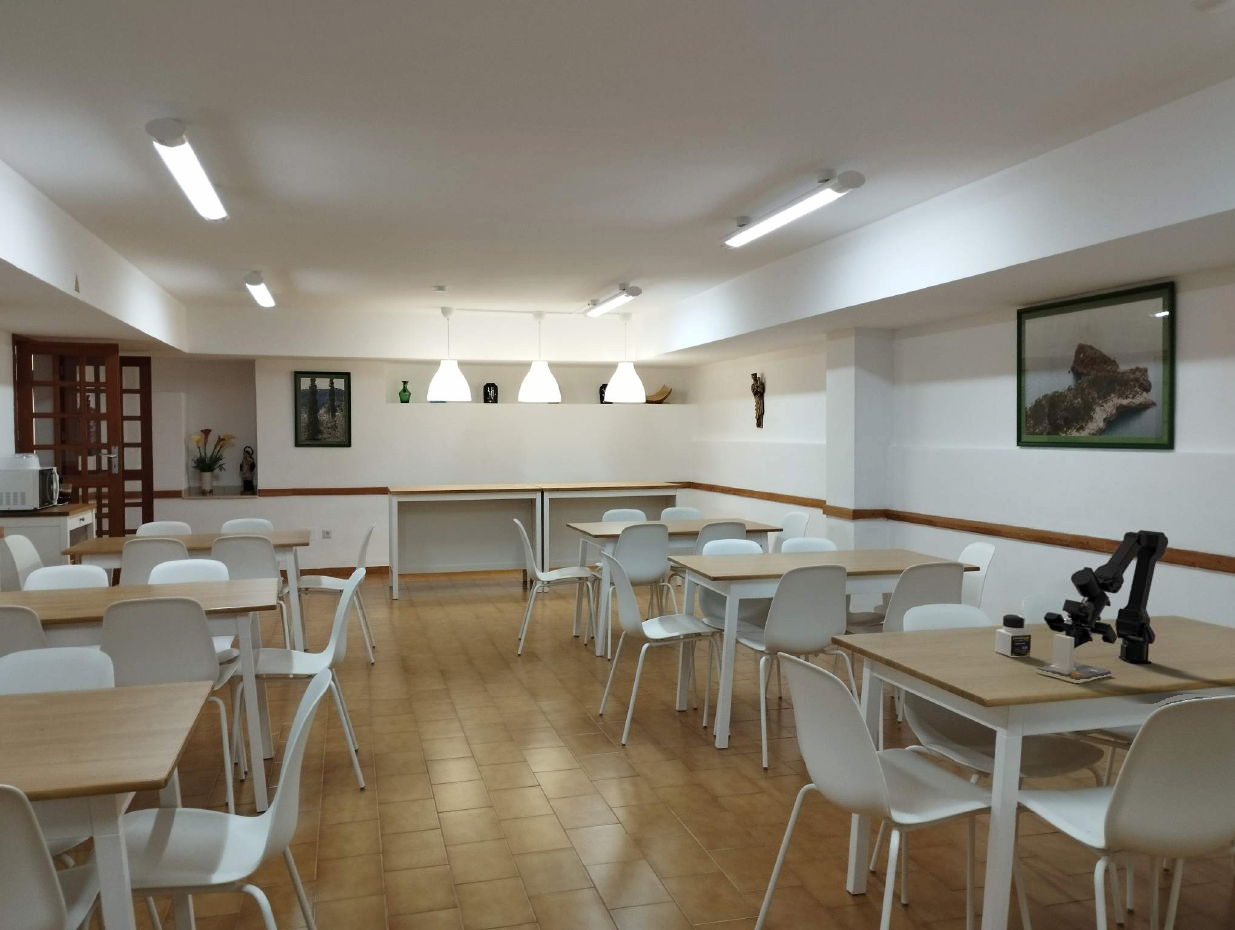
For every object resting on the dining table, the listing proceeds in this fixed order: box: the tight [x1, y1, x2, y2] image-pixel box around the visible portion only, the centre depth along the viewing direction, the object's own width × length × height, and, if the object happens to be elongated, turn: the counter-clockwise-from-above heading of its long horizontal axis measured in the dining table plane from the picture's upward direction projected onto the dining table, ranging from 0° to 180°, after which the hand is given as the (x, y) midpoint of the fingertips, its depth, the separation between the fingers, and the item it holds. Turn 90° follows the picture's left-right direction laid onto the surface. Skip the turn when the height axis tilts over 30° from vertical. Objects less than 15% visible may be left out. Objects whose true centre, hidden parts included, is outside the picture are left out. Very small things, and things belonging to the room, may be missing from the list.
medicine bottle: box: [994, 613, 1032, 657], centre depth 271 cm, size 7×7×12 cm
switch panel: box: [1035, 661, 1112, 680], centre depth 250 cm, size 16×12×2 cm
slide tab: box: [1049, 633, 1076, 674], centre depth 247 cm, size 4×5×10 cm
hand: (1066, 650), depth 247 cm, fingers closed
